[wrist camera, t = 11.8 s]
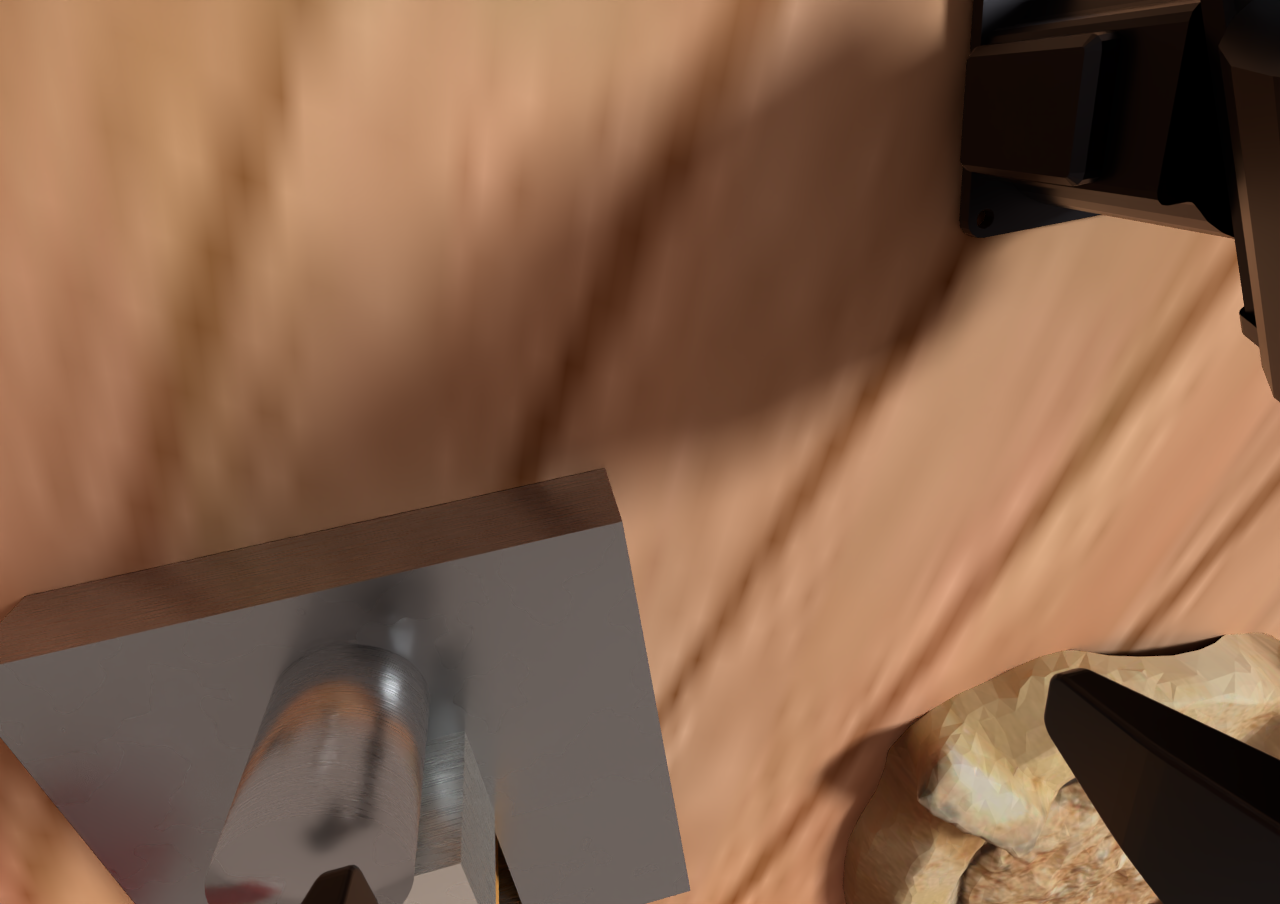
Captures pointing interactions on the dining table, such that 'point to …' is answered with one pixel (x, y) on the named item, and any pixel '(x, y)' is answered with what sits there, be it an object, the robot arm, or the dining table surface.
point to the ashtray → (1034, 783)
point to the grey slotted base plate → (361, 712)
